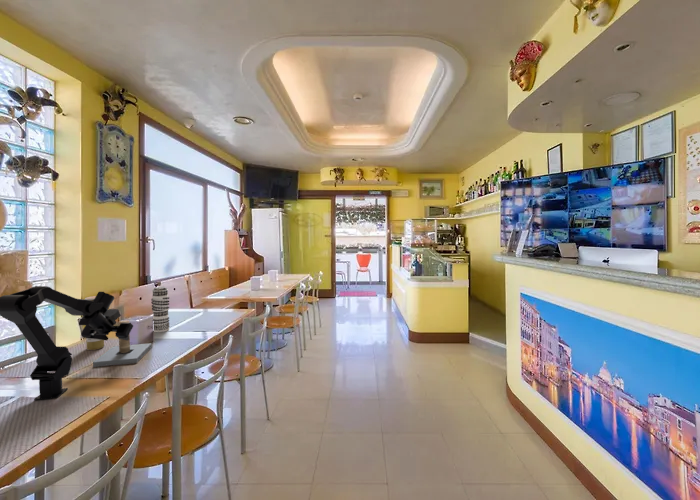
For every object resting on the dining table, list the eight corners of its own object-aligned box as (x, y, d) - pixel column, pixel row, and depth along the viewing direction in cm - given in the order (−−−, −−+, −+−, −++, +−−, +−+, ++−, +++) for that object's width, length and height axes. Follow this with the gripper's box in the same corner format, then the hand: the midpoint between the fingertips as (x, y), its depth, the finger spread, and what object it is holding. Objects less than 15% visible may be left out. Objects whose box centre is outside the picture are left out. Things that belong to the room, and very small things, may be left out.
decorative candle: (168, 326, 193) (167, 285, 191) (171, 330, 185) (170, 287, 184) (150, 329, 187) (149, 287, 186) (153, 333, 180) (152, 289, 178)
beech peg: (131, 356, 146) (130, 321, 145) (120, 358, 143) (119, 323, 142) (128, 353, 148) (127, 319, 148) (118, 356, 145) (117, 321, 145)
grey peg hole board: (136, 362, 138) (136, 358, 138) (93, 366, 134) (92, 362, 134) (151, 347, 157) (151, 343, 157) (114, 350, 153) (113, 346, 153)
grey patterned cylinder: (94, 351, 152) (92, 298, 151) (82, 350, 153) (81, 298, 152) (107, 346, 159) (106, 296, 158) (96, 345, 160) (95, 295, 159)
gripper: (129, 304, 135) (146, 323, 147) (85, 304, 135) (106, 323, 147) (116, 328, 128) (135, 346, 139) (70, 327, 128) (93, 345, 139)
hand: (117, 339), depth 141 cm, fingers open, 9 cm apart
